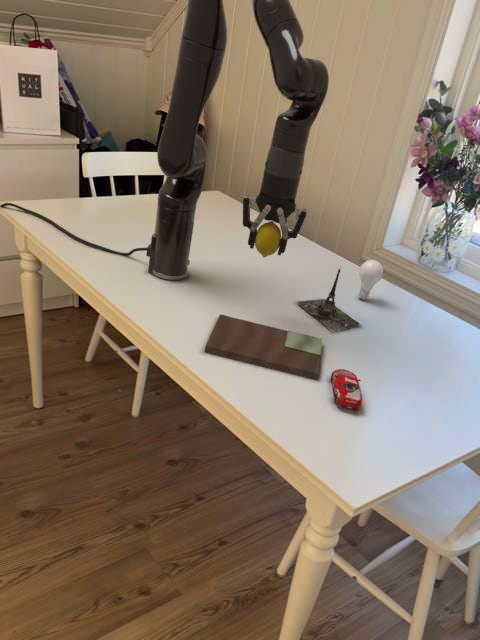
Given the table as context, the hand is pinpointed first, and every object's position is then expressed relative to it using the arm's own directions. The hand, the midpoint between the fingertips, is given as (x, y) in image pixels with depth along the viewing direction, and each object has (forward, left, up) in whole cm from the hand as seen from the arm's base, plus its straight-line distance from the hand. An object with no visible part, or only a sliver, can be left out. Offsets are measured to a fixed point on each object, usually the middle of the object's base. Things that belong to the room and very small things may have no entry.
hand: (265, 250), depth 132 cm
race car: (+23, -24, -17) cm, 37 cm away
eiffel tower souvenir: (+18, +12, -17) cm, 28 cm away
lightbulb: (+27, +28, -17) cm, 43 cm away
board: (+5, -13, -17) cm, 22 cm away
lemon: (0, 0, -2) cm, 2 cm away
